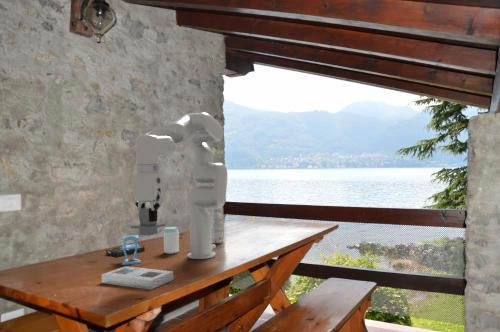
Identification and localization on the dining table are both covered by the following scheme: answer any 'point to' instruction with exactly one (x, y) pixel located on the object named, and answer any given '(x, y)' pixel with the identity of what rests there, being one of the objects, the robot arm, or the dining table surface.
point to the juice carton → (217, 224)
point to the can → (171, 240)
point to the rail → (137, 277)
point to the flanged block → (147, 223)
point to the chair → (126, 238)
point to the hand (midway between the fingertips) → (148, 220)
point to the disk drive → (119, 251)
